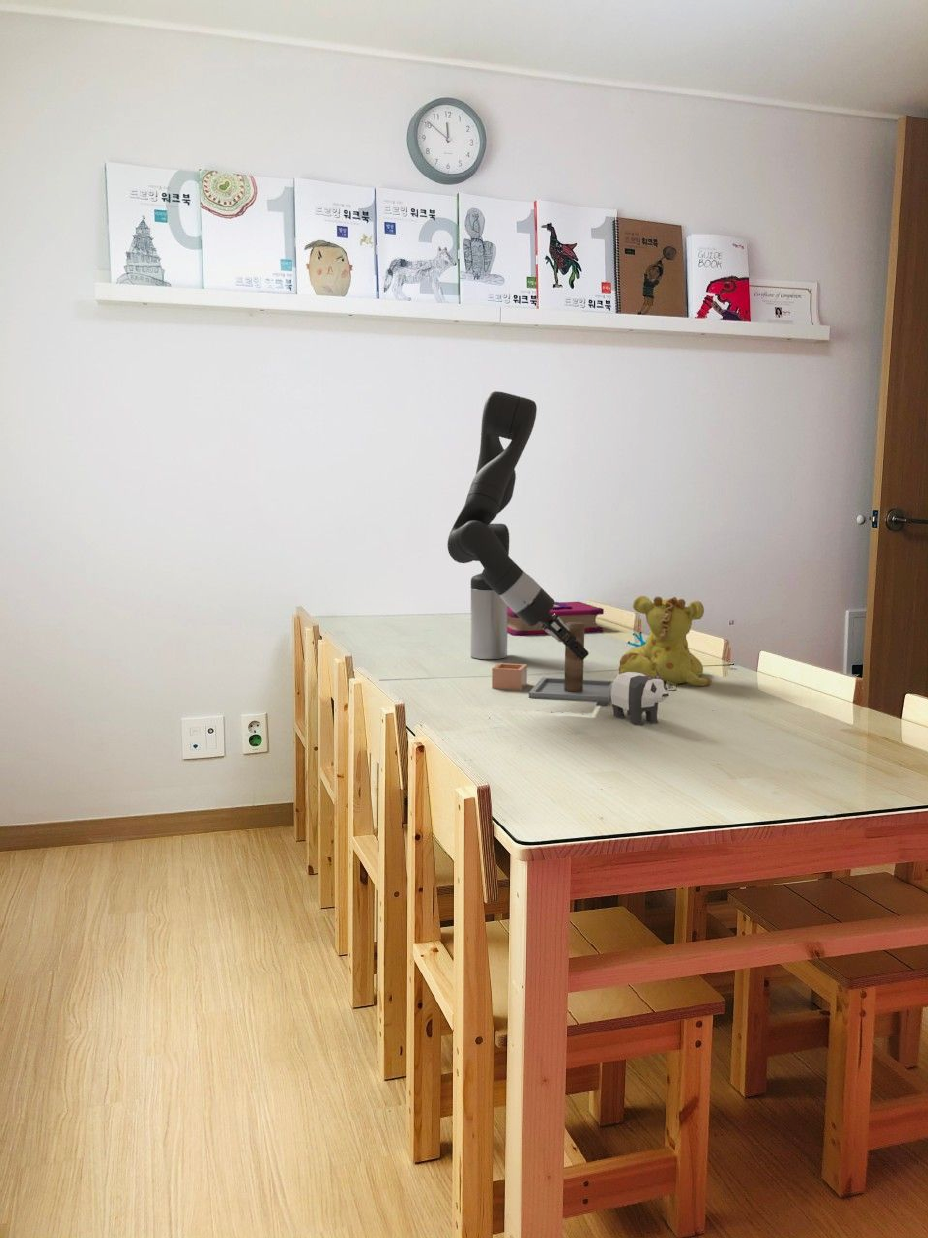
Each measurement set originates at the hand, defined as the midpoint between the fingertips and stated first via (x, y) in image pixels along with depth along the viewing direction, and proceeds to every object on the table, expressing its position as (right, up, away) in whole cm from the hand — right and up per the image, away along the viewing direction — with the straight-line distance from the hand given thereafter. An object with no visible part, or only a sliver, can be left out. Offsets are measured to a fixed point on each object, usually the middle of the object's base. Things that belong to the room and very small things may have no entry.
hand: (580, 653), depth 210 cm
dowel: (-1, -8, +1) cm, 8 cm away
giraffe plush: (+21, -7, +18) cm, 28 cm away
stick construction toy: (+22, -3, +43) cm, 49 cm away
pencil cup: (-14, -8, +6) cm, 18 cm away
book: (0, +4, +91) cm, 91 cm away
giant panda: (+8, -12, -21) cm, 26 cm away
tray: (-1, -9, +1) cm, 9 cm away
